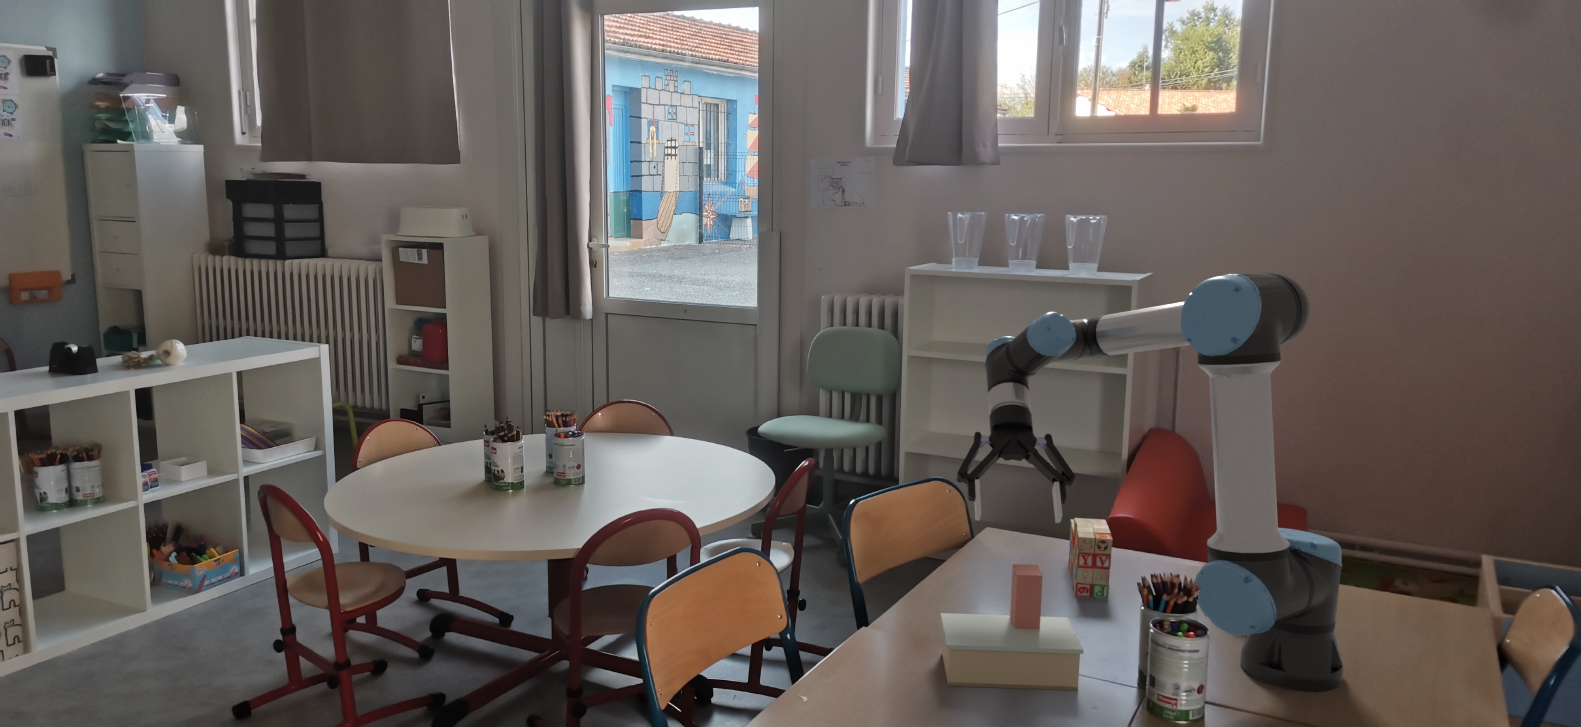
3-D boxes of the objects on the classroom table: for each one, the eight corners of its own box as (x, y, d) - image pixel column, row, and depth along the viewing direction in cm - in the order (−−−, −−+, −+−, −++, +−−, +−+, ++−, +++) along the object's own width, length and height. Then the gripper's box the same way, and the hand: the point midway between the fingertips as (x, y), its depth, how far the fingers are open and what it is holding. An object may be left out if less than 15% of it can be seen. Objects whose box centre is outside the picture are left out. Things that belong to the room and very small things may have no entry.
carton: (1063, 657, 179) (1065, 623, 179) (1077, 690, 168) (1080, 653, 167) (941, 653, 181) (943, 619, 180) (947, 685, 169) (949, 649, 168)
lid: (1067, 621, 179) (1070, 565, 177) (1083, 653, 166) (1086, 593, 165) (940, 616, 180) (942, 561, 179) (946, 648, 167) (949, 588, 166)
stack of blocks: (1067, 561, 228) (1070, 504, 226) (1098, 563, 227) (1102, 506, 225) (1074, 597, 207) (1078, 535, 205) (1108, 600, 206) (1112, 537, 204)
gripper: (1075, 426, 199) (1088, 530, 187) (939, 423, 201) (943, 525, 188) (1083, 403, 193) (1097, 509, 181) (942, 400, 195) (946, 504, 182)
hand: (1018, 518), depth 184 cm, fingers open, 13 cm apart
